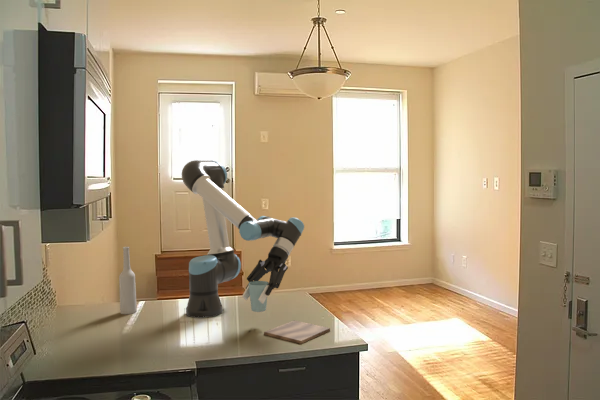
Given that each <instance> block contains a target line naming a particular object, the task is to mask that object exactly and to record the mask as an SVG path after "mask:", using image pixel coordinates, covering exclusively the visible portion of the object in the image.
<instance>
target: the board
mask: <svg viewBox="0 0 600 400" xmlns="http://www.w3.org/2000/svg"><path fill="white" fill-rule="evenodd" d="M330 331H331V327H328V326H327V327H326V326H322V325H319V324H318V325H316V324H312V323H309V322H308V323H307V322H304V321H300V320H299V321H298V320H292V321H288V322H287V323H283V324H281V325H279V326H278V325H277V326H275V327H273V328H270V329H268V330H265V331H263V335H264V336H269V337H272V338H276V339H281V340H284V341H289V342H293V343H298V344H301V345H302V344H304V343H306V342H308V341H311V340H312V339H315V338H317V337H319V336H322V335H324V334H327V333H329V332H330Z"/></svg>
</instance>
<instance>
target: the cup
mask: <svg viewBox="0 0 600 400" xmlns="http://www.w3.org/2000/svg"><path fill="white" fill-rule="evenodd" d="M248 283H249V292H250V296H249V299H250V308H251V312H255V313H262V312H265V311H267V305H268V297H267V298H266V300H265V302H264V303H263V304H262V303H261V302H260V301H259V300H258V299H259V297H260V295H261V294H262V292H263V290H264V288H265V287H266V285H268V283H269V281H266V280H259V281H254V280H253V281H252V282H249V281H248ZM268 286H269V285H268Z"/></svg>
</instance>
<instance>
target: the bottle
mask: <svg viewBox="0 0 600 400" xmlns="http://www.w3.org/2000/svg"><path fill="white" fill-rule="evenodd" d="M122 250H123V252H122V253H123V255H122V256H123V258H122V259H123V263H122V265H123V268H122V269H123V270H122V271H121V273H120V274H119V276H118V278H119V279H118V280H119V285H118V286H119V311H120V312H119V313H120V314H121V315H132V314H133V315H134V314H136V313H137V309H138V308H137V289H136V288H137V287H136V285H137V284H136V274H135V272H134V271H133V270H132V268H131V259H130V257H131V256H130V246H122Z"/></svg>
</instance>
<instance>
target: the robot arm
mask: <svg viewBox="0 0 600 400" xmlns="http://www.w3.org/2000/svg"><path fill="white" fill-rule="evenodd" d="M227 179H228V173H227V169H226V168H225V166H224V164H223V163H221V162H219V161H215V160H197V159H196V160H195V159H194V160H191V161H189V162H187V163H186V164H185V165H184V166H183V167H182V170H181V180H182V181H183V184H184V185H185V186H186V188H187V189H189V191H191V192H192V193H193V194H195V195H199V196H200V197H201V198H202V204H203V211H204V217H205V223H206V231H207V235H208V236H207V237H208V243H209V251H208V252H207V254H205V255H202V256H201V255H199V256H196V257H193V258H192V259H190V261H189V262H188V279H189V280H188V281H189V283H188V284H189V297H188V301H187V305H186V308H185V315H186V316H188V317H190V318H201V319H202V318H211V317H216V316H219V315H221V314H222V313H223V308H224V307H223V304H222V302H221V298H220V296H219V284H223V283H224V282H230V281H231V280H233V279H235V278H236V277H238V275H239V274H240V273H241V270H242V262H241V259H240V257H239V256H238V255H237V254H235V251H234V250H235V249H234V248H232V247H231V246H230V240H229V235H228V227H227V220H228V222H230V223H231V224H233V226H235V228H237V229H238V230H239V231H238V232H239V235H240V237H241V239H243V240H245V241H250V242H251V241H256V240H259V239H264V238H268V237H273V238H276V240H275V242H274V243H273V244H272V247H271V248H270V251H269V252H268V254H267V258H266V259H265V260H262V259H259V260H258V261H257V264H256V265H255V267H254V268H253V269H252V271H251V272H250V273H249V275H248V276H247V277H246V280H247V281H248V284H247V285H246V287H245V290H244V292H243V294H242V295H241V296H242V298H243V299H244V300H246V301H248V299H250V292H249V282H252V281H261V279H262V278H263V277H264V276H265V275H266V274H268V273H270V277H269V281H268V282H269V283H268V285H269V286H268V285H266V287H265V288H264V290H263V292H262V294H261V295H260V297H259V299H258V300H259V301H260V302H261V303H262V304H263V303H264V302H265V300H266V298H267V299H268V296H270V295H271V293H272V291H273V290H274V289H279V288H280V286H281V283H282V280H283V278H284V276H285V273H286V271H287V270H288V268H289V267H288V266H287V264H286V262H287V260H288V258H289V256H290V255H291V252H292V251H293V249H294V248H295V245H297V242H298V240H299V239H300V237H301V236H302V234H303V232H304V230H305V224H304V222H303V221H302V220H300V219H299V218H298V217H290V218H288V220H287V221H285V220H280V219H277V218H274V217H271V216H266V215H261V216H259V217H258V218H257V219H256V218H255V217H254V216H253V215H252V214H251V213H249V212H248V211H247V210H246V209H245V208H244V207H242V206H241V204H239V203H237V202H236V200H234V199H233V198H232V197H230V195H228V194H227V193H226V192H225V191H224V190H225V184H226V181H227ZM226 219H227V220H226Z"/></svg>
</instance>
